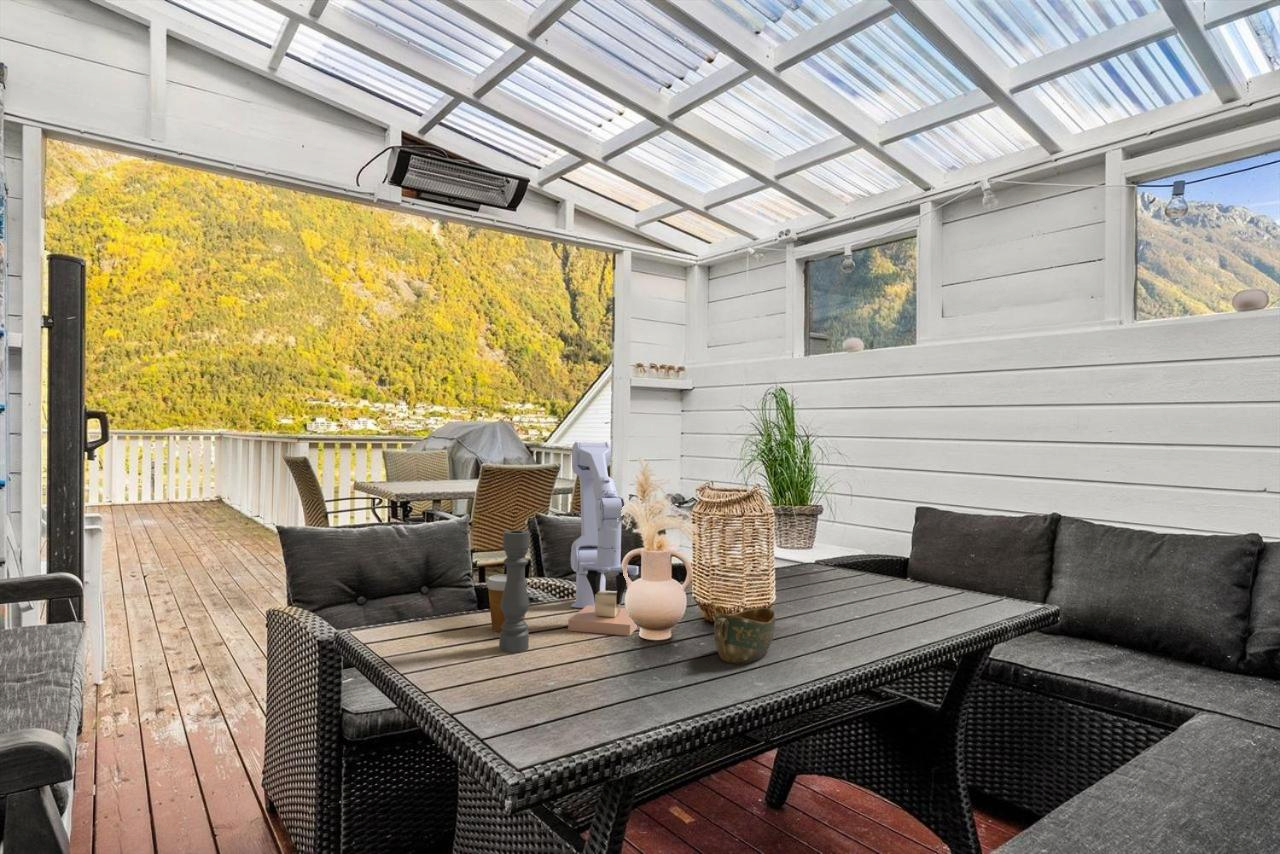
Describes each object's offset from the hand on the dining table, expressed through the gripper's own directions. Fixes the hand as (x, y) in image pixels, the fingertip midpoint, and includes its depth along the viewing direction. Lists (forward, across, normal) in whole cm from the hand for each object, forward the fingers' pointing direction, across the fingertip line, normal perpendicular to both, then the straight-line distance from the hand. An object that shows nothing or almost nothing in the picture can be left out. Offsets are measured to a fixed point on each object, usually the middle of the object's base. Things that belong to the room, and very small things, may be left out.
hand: (607, 602), depth 178 cm
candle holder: (+6, -14, -24) cm, 29 cm away
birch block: (+3, 0, 0) cm, 3 cm away
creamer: (+6, +34, -14) cm, 37 cm away
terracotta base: (+5, 0, 0) cm, 5 cm away
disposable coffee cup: (+6, -22, -10) cm, 25 cm away
